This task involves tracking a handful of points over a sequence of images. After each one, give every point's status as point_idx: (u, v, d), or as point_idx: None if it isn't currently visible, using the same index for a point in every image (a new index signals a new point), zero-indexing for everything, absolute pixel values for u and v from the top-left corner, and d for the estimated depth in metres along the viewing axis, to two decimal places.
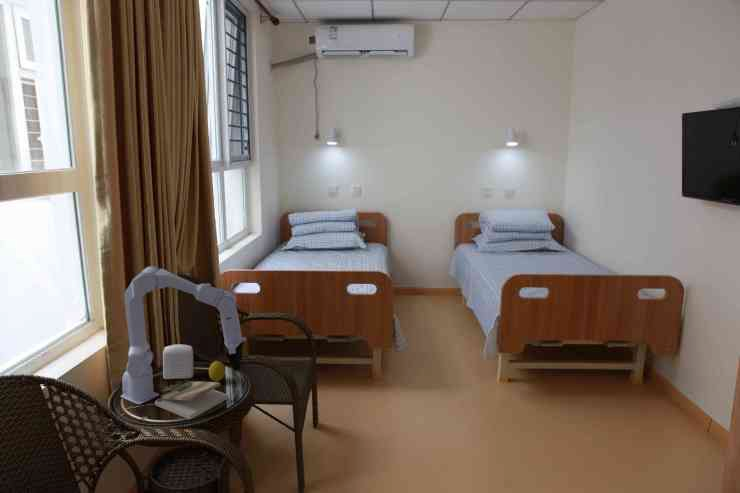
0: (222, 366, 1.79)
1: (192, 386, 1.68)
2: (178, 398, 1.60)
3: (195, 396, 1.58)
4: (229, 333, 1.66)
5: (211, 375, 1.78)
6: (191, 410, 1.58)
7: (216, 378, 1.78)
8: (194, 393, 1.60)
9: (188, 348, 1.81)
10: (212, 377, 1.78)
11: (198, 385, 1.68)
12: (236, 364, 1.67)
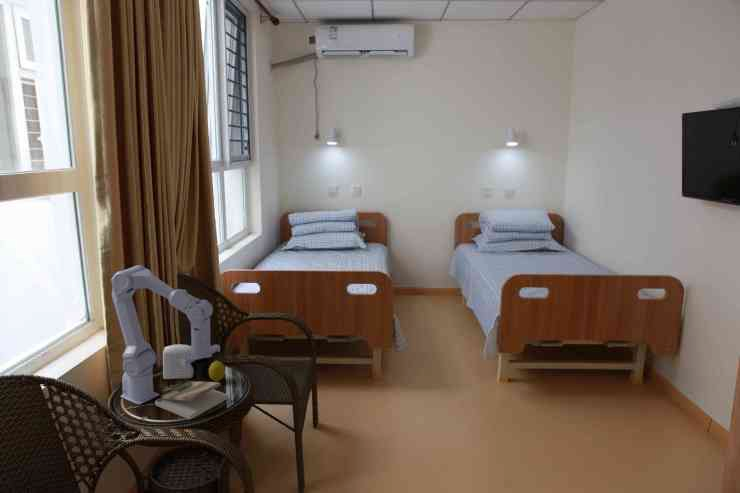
0: (222, 366, 1.79)
1: (192, 386, 1.68)
2: (178, 398, 1.60)
3: (195, 396, 1.58)
4: (192, 344, 1.58)
5: (211, 375, 1.78)
6: (191, 410, 1.58)
7: (216, 378, 1.78)
8: (194, 393, 1.60)
9: (188, 348, 1.81)
10: (212, 377, 1.78)
11: (198, 385, 1.68)
12: (198, 374, 1.61)
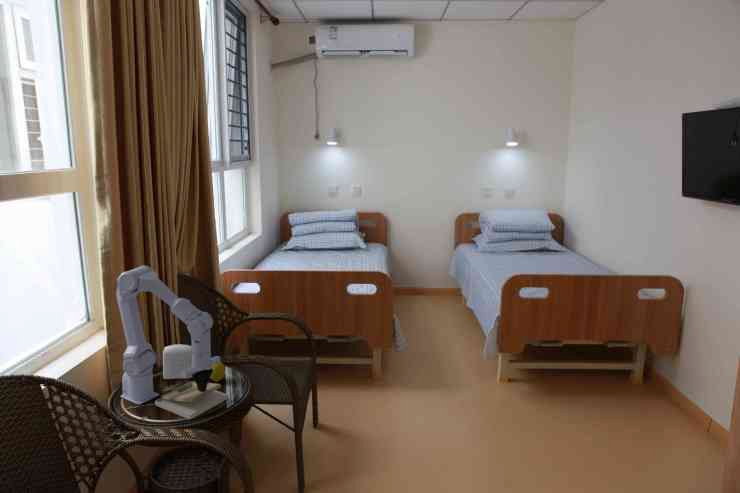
0: (222, 366, 1.79)
1: (192, 387, 1.68)
2: (178, 399, 1.60)
3: (195, 398, 1.58)
4: (193, 356, 1.59)
5: (211, 375, 1.78)
6: (191, 410, 1.58)
7: (216, 378, 1.78)
8: (194, 395, 1.60)
9: (188, 348, 1.81)
10: (212, 377, 1.78)
11: None
12: (200, 385, 1.62)
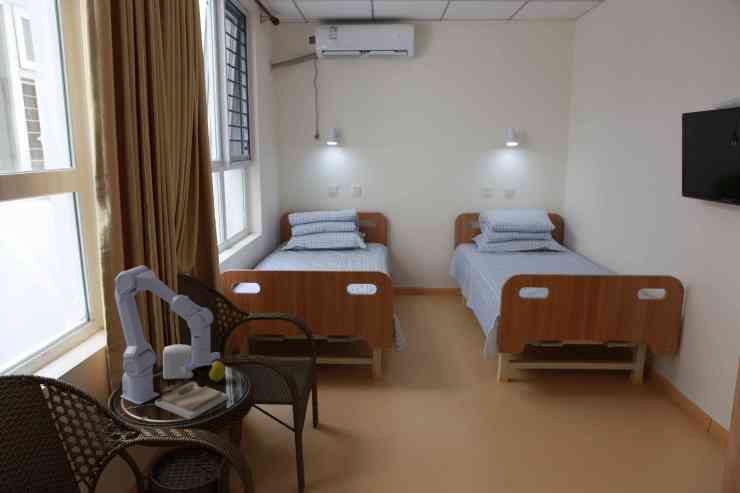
0: (222, 366, 1.79)
1: (193, 390, 1.68)
2: (179, 404, 1.60)
3: (196, 406, 1.59)
4: (193, 352, 1.58)
5: (211, 375, 1.78)
6: None
7: (216, 378, 1.78)
8: (195, 402, 1.61)
9: (188, 348, 1.81)
10: (212, 377, 1.78)
11: (199, 390, 1.68)
12: (199, 381, 1.62)
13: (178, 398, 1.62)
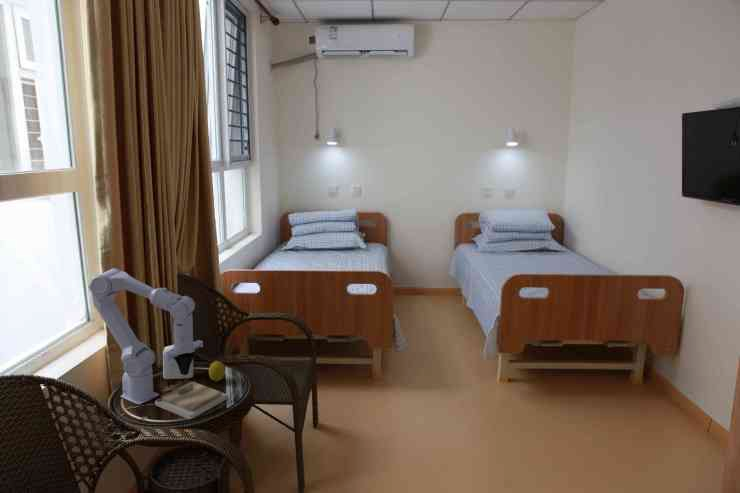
0: (222, 366, 1.79)
1: (193, 390, 1.68)
2: (179, 404, 1.60)
3: (196, 406, 1.59)
4: (175, 339, 1.61)
5: (211, 375, 1.78)
6: None
7: (216, 378, 1.78)
8: (195, 402, 1.61)
9: None
10: (212, 377, 1.78)
11: (199, 390, 1.68)
12: (182, 368, 1.64)
13: (178, 398, 1.62)
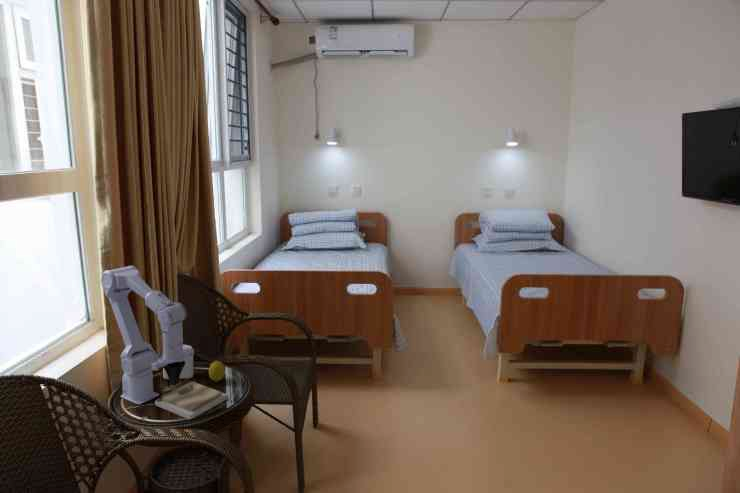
0: (222, 366, 1.79)
1: (193, 390, 1.68)
2: (179, 404, 1.60)
3: (196, 406, 1.59)
4: (164, 348, 1.54)
5: (211, 375, 1.78)
6: None
7: (216, 378, 1.78)
8: (195, 402, 1.61)
9: None
10: (212, 377, 1.78)
11: (199, 390, 1.68)
12: (172, 378, 1.57)
13: (178, 398, 1.62)
